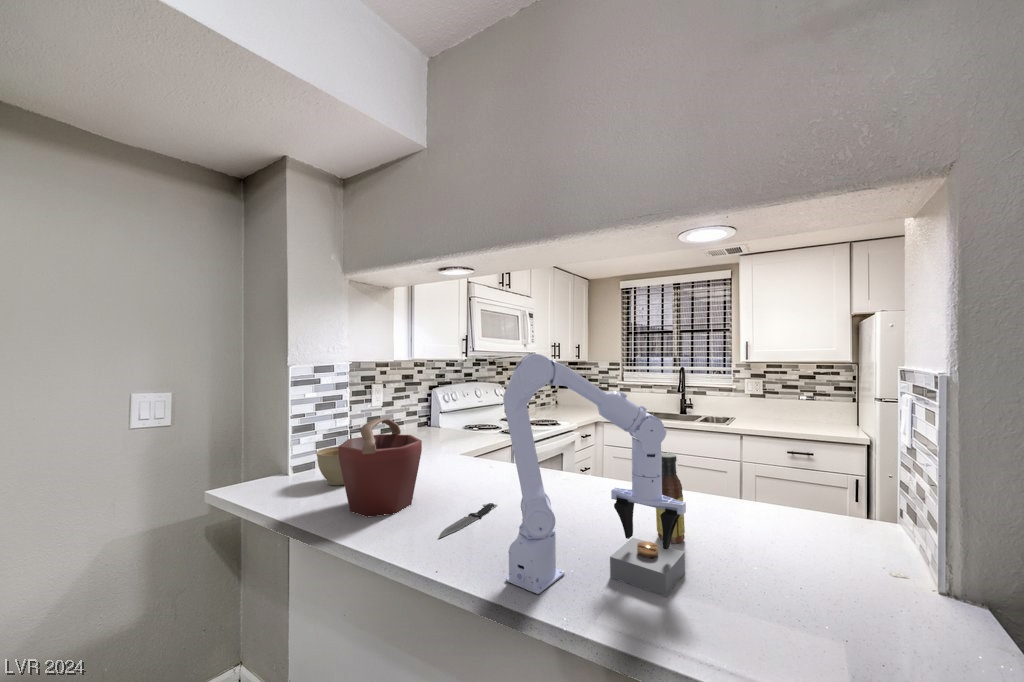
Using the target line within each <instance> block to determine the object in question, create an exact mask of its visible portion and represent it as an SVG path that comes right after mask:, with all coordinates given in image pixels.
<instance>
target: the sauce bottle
mask: <svg viewBox="0 0 1024 682" xmlns="http://www.w3.org/2000/svg"><path fill="white" fill-rule="evenodd" d="M677 460H678V459H677V455H676V454H675V453H669V452H662V495H664V496H667V497H670V498H673V499H676V500H679V501H683V502H684V495H683V486H682V483H681V479H679V476H678V475H677ZM663 512H665V510H663V509H659V508H655V515H656V516H655V517H656V532H657V536H658V538H659V539H660V540H661V541H663V529H662V522H661V517H660V515H661V514H662V513H663ZM685 532H686V531H685V513H684V514H683V515H680V517H679V519H678V521H677V523H676V525H675V528H674V531H673V534H672V538H671V543H670V544H680V543H682V542H684V541H685V539H686V538H685Z"/></svg>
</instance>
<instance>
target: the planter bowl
mask: <svg viewBox="0 0 1024 682" xmlns="http://www.w3.org/2000/svg"><path fill="white" fill-rule="evenodd" d="M339 446H340V445H338V446H337V445H336V446H330V447H325V448H322V449H319V450H318V451H316V457H317V460H316V461H317V466H318V468H319V469H318V470H319V471H320V473H321V475H322V476H323V478H324V479H325V480H326V483H327V484H328V485H330V486H345V485H344V480H343V476H342V471H341V466H340V461H339Z"/></svg>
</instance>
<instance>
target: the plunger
mask: <svg viewBox="0 0 1024 682" xmlns="http://www.w3.org/2000/svg"><path fill="white" fill-rule="evenodd" d="M656 544H657V543H654V542H651V541H647V540H643V542H639V543H638V544H637V553H638V554H639V555H641V556H643V557H646V558H649V559H651V558H653V557H657V556H658V546H657V545H656Z"/></svg>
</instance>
